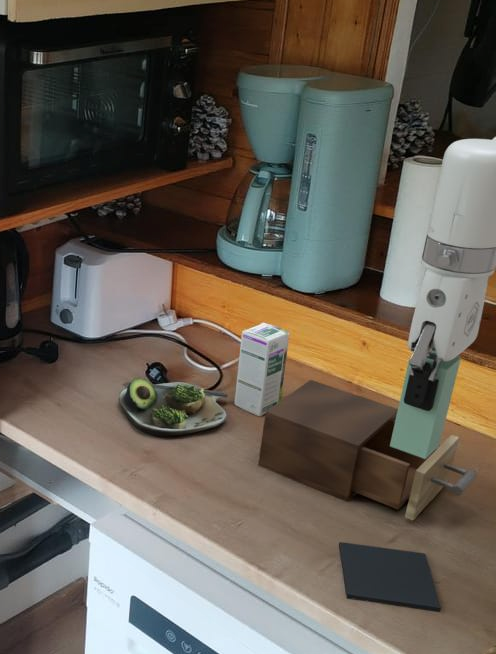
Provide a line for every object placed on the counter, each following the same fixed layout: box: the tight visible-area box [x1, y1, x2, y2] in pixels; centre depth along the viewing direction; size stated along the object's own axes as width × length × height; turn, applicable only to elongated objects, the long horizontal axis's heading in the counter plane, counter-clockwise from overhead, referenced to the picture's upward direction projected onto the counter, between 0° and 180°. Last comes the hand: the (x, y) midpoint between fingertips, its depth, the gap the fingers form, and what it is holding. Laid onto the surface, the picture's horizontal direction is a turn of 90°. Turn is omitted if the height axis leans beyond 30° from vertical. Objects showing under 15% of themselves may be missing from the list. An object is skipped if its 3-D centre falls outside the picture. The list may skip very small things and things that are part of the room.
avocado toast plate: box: [118, 378, 229, 437], centre depth 155 cm, size 19×18×5 cm
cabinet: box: [257, 379, 398, 503], centre depth 139 cm, size 15×15×10 cm
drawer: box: [351, 418, 478, 521], centre depth 132 cm, size 18×13×8 cm
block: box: [390, 348, 462, 459], centre depth 109 cm, size 4×4×12 cm
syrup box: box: [233, 322, 291, 417], centre depth 155 cm, size 6×6×14 cm
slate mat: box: [338, 541, 442, 612], centre depth 117 cm, size 11×11×1 cm
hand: (426, 397), depth 108 cm, fingers closed on block, 4 cm apart
